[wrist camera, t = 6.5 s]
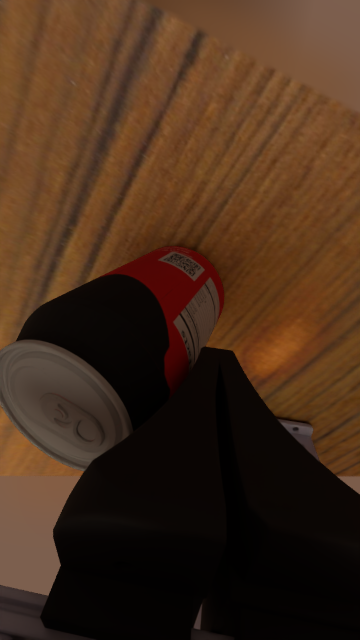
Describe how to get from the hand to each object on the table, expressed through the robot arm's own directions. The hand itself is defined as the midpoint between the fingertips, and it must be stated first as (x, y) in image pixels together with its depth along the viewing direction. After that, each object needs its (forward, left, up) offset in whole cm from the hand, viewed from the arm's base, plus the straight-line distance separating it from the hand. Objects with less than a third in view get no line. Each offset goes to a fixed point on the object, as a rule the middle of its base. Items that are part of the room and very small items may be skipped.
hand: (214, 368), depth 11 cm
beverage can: (+2, 0, -8) cm, 9 cm away
